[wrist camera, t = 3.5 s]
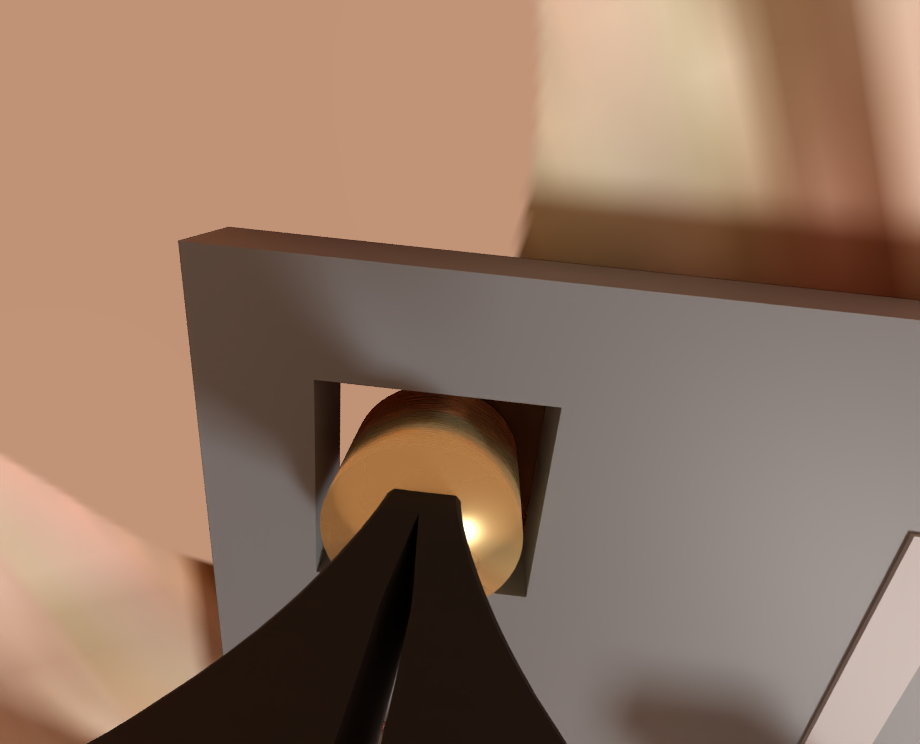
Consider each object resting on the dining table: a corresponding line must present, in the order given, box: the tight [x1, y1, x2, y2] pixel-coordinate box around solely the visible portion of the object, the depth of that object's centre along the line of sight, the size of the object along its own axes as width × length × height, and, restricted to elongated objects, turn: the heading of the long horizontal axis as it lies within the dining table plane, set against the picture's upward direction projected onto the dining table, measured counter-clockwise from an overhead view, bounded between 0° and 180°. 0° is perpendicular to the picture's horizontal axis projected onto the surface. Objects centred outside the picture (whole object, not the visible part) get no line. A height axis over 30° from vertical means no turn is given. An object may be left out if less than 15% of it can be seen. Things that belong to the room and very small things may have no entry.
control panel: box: [178, 227, 920, 744], centre depth 14 cm, size 22×20×2 cm
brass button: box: [320, 390, 523, 597], centre depth 12 cm, size 4×4×3 cm
